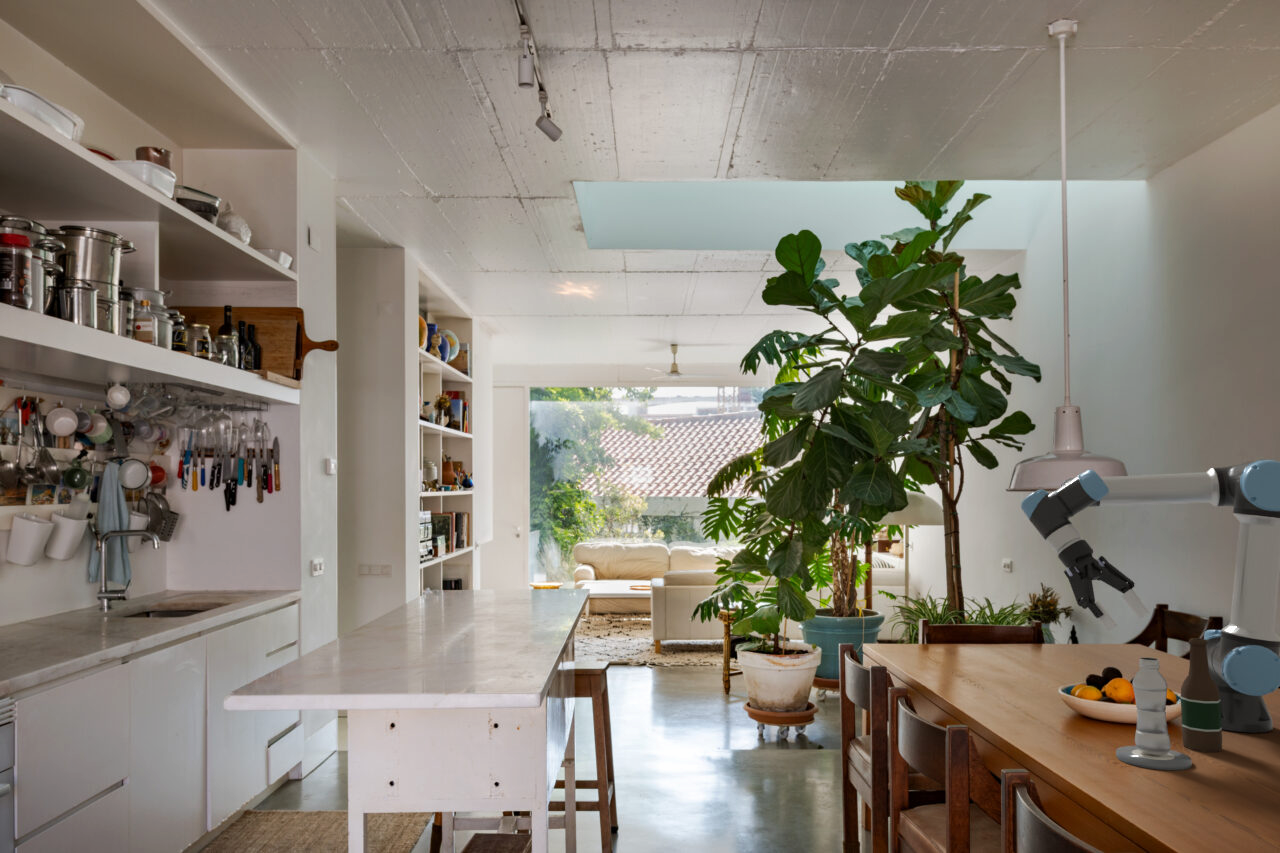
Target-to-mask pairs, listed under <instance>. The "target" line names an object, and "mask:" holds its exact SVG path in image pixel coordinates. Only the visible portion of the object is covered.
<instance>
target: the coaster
mask: <svg viewBox="0 0 1280 853" xmlns="http://www.w3.org/2000/svg"><path fill="white" fill-rule="evenodd" d="M1115 756H1116V758H1117V759H1118V760H1119V761H1121V762H1122V763H1125V764H1127V765H1131V766H1135V767H1139V768H1144V769H1150V770H1151V769H1152V770H1159V771H1160V770H1161V771H1183V770H1188V769H1190V768H1192V765H1193V764H1192V758H1191V756H1189V755H1188V754H1185V753H1183V752H1180V751H1177V750H1174V749H1173V750H1172V749H1170V751H1169V752H1168V754H1166V755H1150V754H1146V753H1143V752H1140V751H1139V750H1138V748H1137V747H1136V745H1127V746H1120V747H1117V748H1116V749H1115Z"/></svg>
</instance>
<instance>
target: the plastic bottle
mask: <svg viewBox="0 0 1280 853" xmlns="http://www.w3.org/2000/svg"><path fill="white" fill-rule="evenodd" d="M1138 662H1139V664H1138V667H1139V668H1140V669H1139V671H1138V672H1136V674H1135V675H1134V677H1133V679H1132V688H1133V693H1134V699H1135V705H1136V730H1135V734H1134V735H1135V737H1134V743H1135V746H1136V747H1137V748H1138V750H1139V751H1140V752H1143V753H1146V754H1150V755H1166V754H1168V752H1169V751H1170V750H1171V746H1172V745H1171V738H1170V734H1169V731H1168V724H1167V717H1166V714H1167V712H1166V709H1167V694H1168V683H1167V680H1166V679H1165V678H1164V676H1163V674H1162V673H1160V671H1159V669H1160V668H1161V667H1160V659H1159V658H1156V657H1147V656H1146V657H1145V656H1144V657H1139V661H1138Z"/></svg>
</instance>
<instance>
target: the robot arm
mask: <svg viewBox="0 0 1280 853" xmlns="http://www.w3.org/2000/svg"><path fill="white" fill-rule="evenodd" d="M1203 503H1205V504H1206V503H1209V504H1211V505H1212V506H1213V507H1233V512H1232V515H1233V516H1234V517H1235V519H1236V520H1237V521H1238V522H1239V528H1238V538H1237V547H1236V548H1237V549H1236V560H1235V568H1234V578H1233V587H1232V588H1233V590H1232V599H1231V600H1232V601H1231V610H1230V619H1229V623H1228V625H1226V626H1224V627H1223V628H1222V629H1207V630H1206V631H1204V634H1203V639H1205V640H1207V643H1208V644H1207V645H1206V648H1207V657H1208V666H1209V672H1210V676H1211V677H1212V679H1213V680H1214V681H1215V683H1216V684H1217V687H1218V689H1219V692H1220V701H1221V724H1222V730H1224V731H1231V732H1239V733H1241V732H1242V733H1257V734H1258V732H1259V733H1267V732H1268V731H1269V732H1272V731H1273V729H1274V727H1273V726H1274V725H1273V719H1272V716H1271V714H1270V712H1269V709H1268V706H1267V704H1266V702H1265V699H1264V697H1263V696H1266V695H1269V694H1271V693H1273V692H1275V691H1276V690H1277V689H1278V688H1279V687H1280V636H1279V635H1278V634H1277V633H1276V632H1275V624H1276V623H1275V622H1276V612H1277V603H1278V593H1279V584H1280V583H1279V582H1280V461H1279V460H1278V461H1277V460H1272V459H1259V460H1255V461H1247V462H1243V463H1239V464H1235V465H1230V466H1222V467H1210V468H1209V469H1208V470H1207V471H1204V472H1183V473H1182V472H1181V473H1165V474H1164V473H1161V474H1142V475H1125V476H1124V475H1121V476H1103V477H1102V476H1100V475H1099V474H1098V473H1097V472H1096V471H1095V470H1093V469H1087V470H1086V471H1083V472H1081V473H1080V474H1078V475H1077V476H1075V477H1072V478H1068V479H1066V480H1064V481H1063V482H1062V484H1060V487H1058V488H1057V489H1055V490H1053V491H1051V492H1050V493H1049V492H1048V491H1047V490H1045V489H1041V488H1040V489H1038V490H1036V491H1033V492H1031V493H1030V494H1028V495H1027V496H1026V497H1025V498H1024V499H1023V500H1022V501H1021V504H1020V509H1021V510H1022V512H1023V513H1024V514H1025V516H1026V517H1027V518H1028V520H1029V521H1030V523H1031V524H1032V526H1034V528H1035V529H1036V531H1038V533H1039V534H1040V535H1041V537H1042V538H1043V539H1044V540H1045V541H1046V543H1047V544H1048V545H1049V547H1050V548H1051V549H1052V551H1053V553H1055V554H1057V555H1058V556H1057V557H1058V559H1059V560H1060V562H1061V563H1062V564H1063V565H1064V567H1066V569H1065V570H1064V571H1063V574H1064V575H1065V576H1066V578H1067V579H1068V582H1069V585H1070V588H1071V590H1072V593H1073V595H1074V597H1075V601H1076V604H1077V605H1078V606H1079V607H1082V609H1084V610H1086V609H1089V611H1090V612H1091V613H1092V615H1093V616H1094V617H1095V618H1096V619H1097V621H1098V622H1100V624H1101V625H1102V627H1103V628H1104V630H1105V631H1106V632H1110V631H1111V630H1112V629H1114V628H1115V627H1116V626H1118V624H1117V623H1116V622H1115V620H1114V619H1113V618H1112V616H1111V615H1110V614H1109V613H1108V612H1107V610H1106V608H1105V607H1104V606H1103V605H1102V604H1101V602H1100V601H1099V600H1097V601H1096V598H1095V591H1094V586H1093V581H1102V582H1103V583H1105V584H1106V585H1108V586H1110V587H1112V588H1113V589H1115V590H1117V591H1118V592H1120V593H1122V594H1121V597H1122V598H1123V599H1124V600H1125V602H1126V603H1127V604H1128V606H1129V607H1130V608H1131V609H1132V611H1134V614H1135V615H1136V616H1137V617H1138V618H1139V619H1142V618H1144V617H1146V616H1147V615H1148V614H1149V613H1150V611H1149V609H1148V608H1147V607H1146V606H1145V604H1144V603H1143V601H1141V599H1140V597H1139V596H1138V595H1137V594H1136V592H1134V590H1133V589H1134V588H1135V582H1134V581H1133V580H1132V579H1131V578H1129V577H1128V576H1126V575H1125V574H1124V573H1123V572H1121V571H1120V570H1119V569H1118V568H1117V567H1115V566H1114V565H1113V564H1111V563H1110V562H1109V561H1108V560H1107V558H1106V557H1104V556H1103V555H1100V556H1099V557H1098V558H1097V559H1096V558H1095V557H1093V553H1094V549H1093V548H1092V547H1091V545H1090V544H1089V543H1088V542H1087V541H1086V539H1083V535H1082V534H1081V533H1080V532H1079V530H1078V529H1077V528H1076V527H1075V525H1074V524H1073V522H1071V520H1070V519H1071V518H1073V517H1074V516H1075V515H1077V514H1078V513H1080V512H1082V511H1084V510H1085V509H1087V508H1093V507H1095V508H1096V507H1115V506H1116V507H1117V506H1118V507H1119V506H1141V505H1143V506H1146V505H1172V504H1173V505H1176V504H1179V505H1180V504H1203ZM1271 730H1272V731H1271ZM1269 732H1268V733H1269Z"/></svg>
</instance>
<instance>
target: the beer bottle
mask: <svg viewBox="0 0 1280 853" xmlns="http://www.w3.org/2000/svg"><path fill="white" fill-rule="evenodd" d="M1207 644H1208V643H1207V640H1205V639H1204V638H1202V637H1201V638H1198V637H1191V638H1190V639H1189V640H1188V645H1189V667H1188V668H1189V670H1188V674H1187V676H1186V677H1185V679H1184V680H1183V682H1182V685H1181V688H1180V707H1181V708H1180V712H1181V733H1182V734H1181V736H1182V738H1181V739H1182V746H1183V747H1184V748H1187V749H1190V750H1192V751H1196V752H1203V753H1220V751H1221V750H1222V748H1223V729H1222V724H1221V701H1220V692H1219V689H1218V687H1217V684H1216V683H1215V681H1214V680H1213V679H1212V677H1211V676H1210V672H1209V666H1208V657H1207V648H1206V645H1207Z"/></svg>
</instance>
